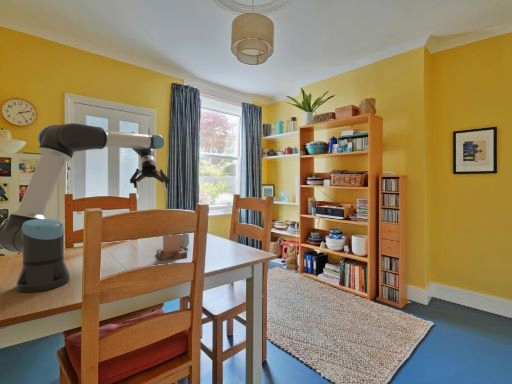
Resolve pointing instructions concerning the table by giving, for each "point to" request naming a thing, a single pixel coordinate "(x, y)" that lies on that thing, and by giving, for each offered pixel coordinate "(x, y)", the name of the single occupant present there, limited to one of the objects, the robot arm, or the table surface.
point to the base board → (171, 254)
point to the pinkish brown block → (171, 243)
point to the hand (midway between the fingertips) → (151, 191)
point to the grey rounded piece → (184, 240)
